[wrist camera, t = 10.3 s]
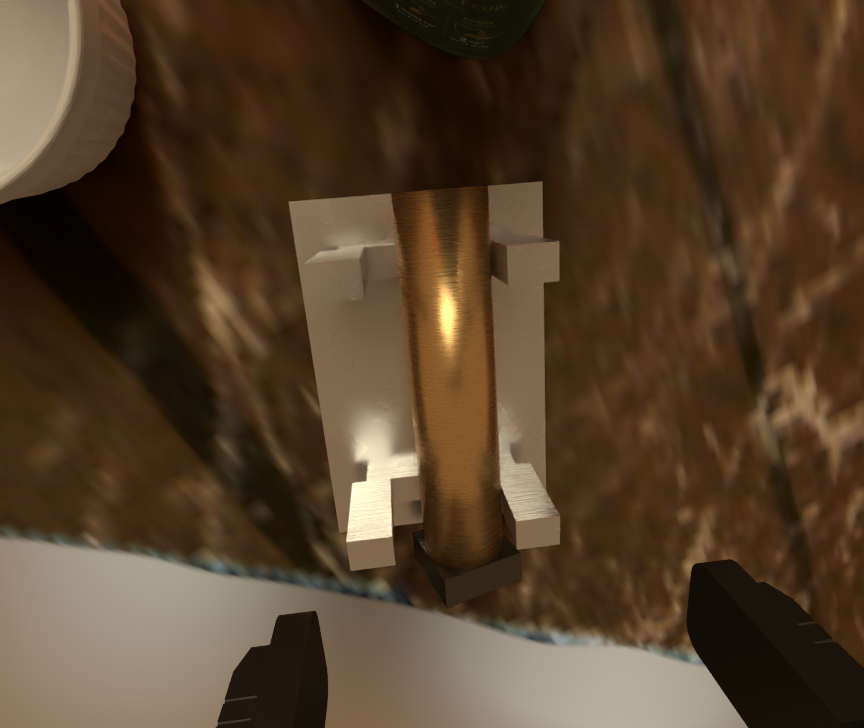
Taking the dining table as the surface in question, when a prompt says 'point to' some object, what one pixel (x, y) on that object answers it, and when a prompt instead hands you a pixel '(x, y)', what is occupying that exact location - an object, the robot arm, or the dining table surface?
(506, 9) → the coffee jar
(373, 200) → the white holder rack
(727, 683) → the robot arm
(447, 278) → the tube
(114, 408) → the dining table surface
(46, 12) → the ramekin
